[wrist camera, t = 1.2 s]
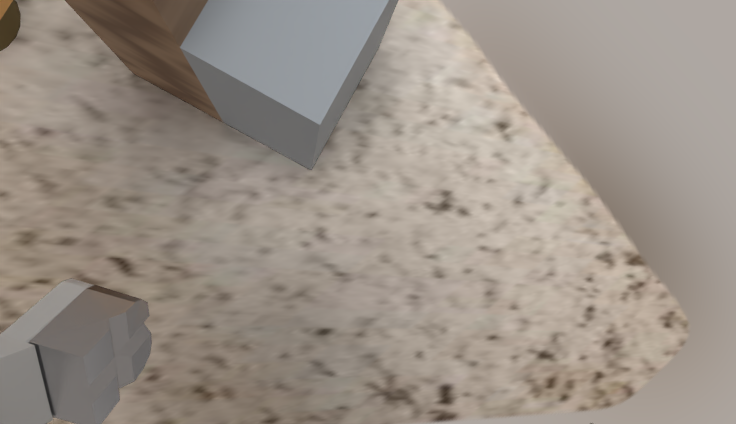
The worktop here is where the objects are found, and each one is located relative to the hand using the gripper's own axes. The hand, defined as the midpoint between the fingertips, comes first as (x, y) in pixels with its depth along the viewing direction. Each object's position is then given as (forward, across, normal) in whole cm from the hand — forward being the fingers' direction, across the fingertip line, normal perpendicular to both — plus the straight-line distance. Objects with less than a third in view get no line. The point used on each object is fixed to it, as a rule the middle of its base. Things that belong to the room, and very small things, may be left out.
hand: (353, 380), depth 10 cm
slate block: (+36, +12, +8) cm, 39 cm away
